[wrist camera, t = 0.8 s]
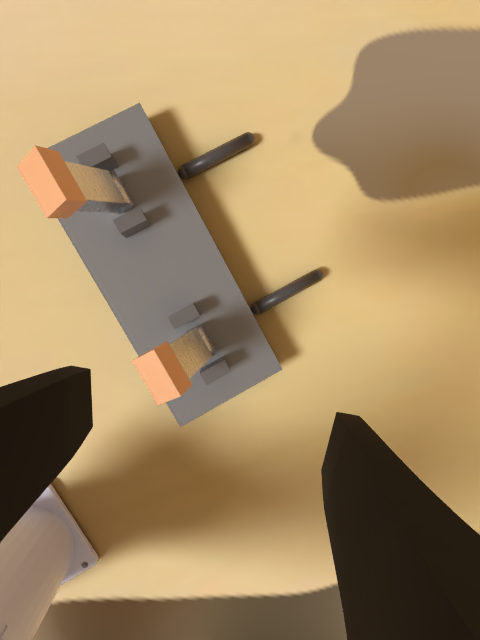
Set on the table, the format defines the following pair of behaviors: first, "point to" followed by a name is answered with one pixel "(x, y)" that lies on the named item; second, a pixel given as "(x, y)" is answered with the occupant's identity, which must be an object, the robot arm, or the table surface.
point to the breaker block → (169, 260)
